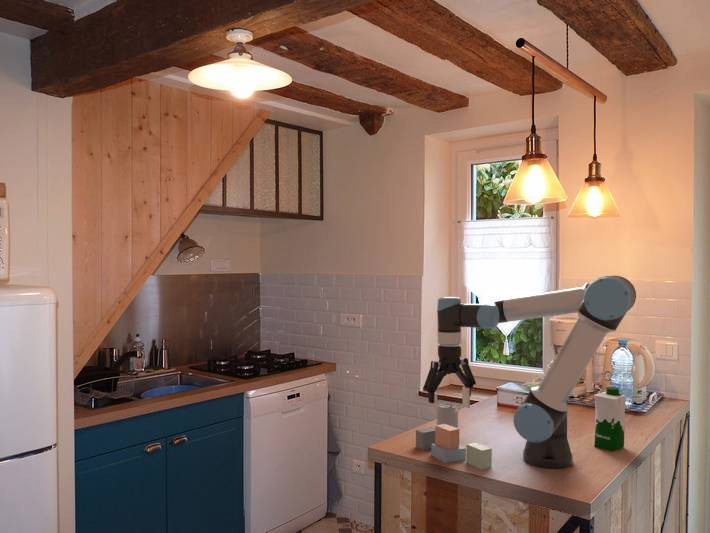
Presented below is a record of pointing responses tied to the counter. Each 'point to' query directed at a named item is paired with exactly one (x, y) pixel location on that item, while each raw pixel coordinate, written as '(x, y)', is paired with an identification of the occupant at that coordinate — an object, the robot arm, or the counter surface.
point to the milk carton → (609, 419)
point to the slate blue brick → (448, 453)
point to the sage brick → (479, 455)
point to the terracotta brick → (447, 436)
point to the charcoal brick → (425, 438)
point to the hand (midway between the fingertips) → (450, 410)
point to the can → (447, 415)
